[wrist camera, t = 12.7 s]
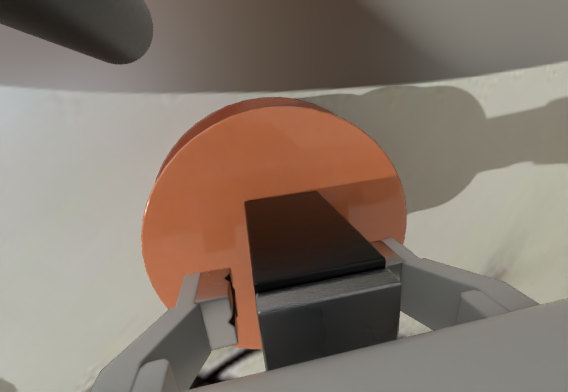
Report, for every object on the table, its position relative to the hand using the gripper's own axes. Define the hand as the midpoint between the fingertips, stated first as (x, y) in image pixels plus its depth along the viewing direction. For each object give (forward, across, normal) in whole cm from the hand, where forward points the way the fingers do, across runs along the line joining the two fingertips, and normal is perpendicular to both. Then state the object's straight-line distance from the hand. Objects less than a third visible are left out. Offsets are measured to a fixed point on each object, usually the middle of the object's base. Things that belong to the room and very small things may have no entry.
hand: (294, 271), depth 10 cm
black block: (+2, 0, 0) cm, 2 cm away
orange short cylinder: (+13, 0, 0) cm, 13 cm away
